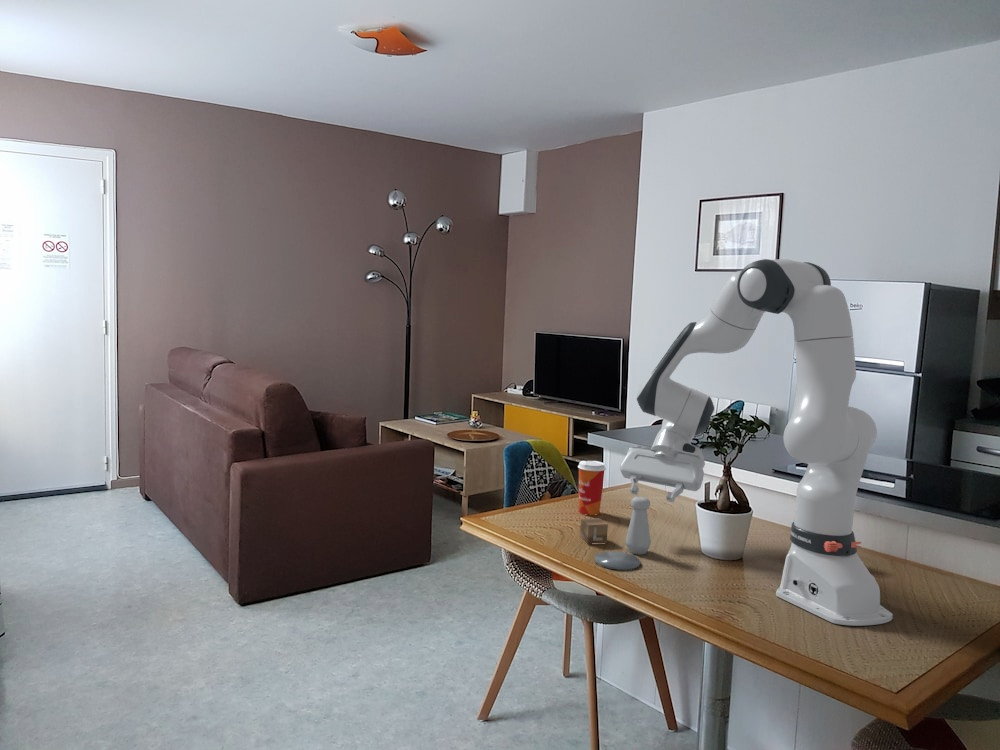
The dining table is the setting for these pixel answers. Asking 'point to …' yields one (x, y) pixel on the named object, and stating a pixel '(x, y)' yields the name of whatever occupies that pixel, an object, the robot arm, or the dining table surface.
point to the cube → (593, 530)
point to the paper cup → (590, 486)
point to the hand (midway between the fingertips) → (651, 496)
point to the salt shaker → (639, 527)
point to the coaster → (617, 560)
